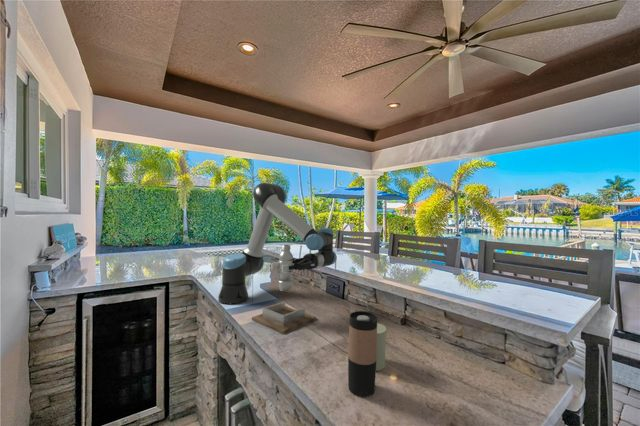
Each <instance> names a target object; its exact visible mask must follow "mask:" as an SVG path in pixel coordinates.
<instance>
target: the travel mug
mask: <svg viewBox="0 0 640 426" xmlns="http://www.w3.org/2000/svg"><path fill="white" fill-rule="evenodd" d="M377 323H378V316H377V315H376V314H375V313H373V312H369V311H366V310H365V311H364V310H360V311H359V310H358V311H357V310H356V311H353V312H351V313H350V314H349V328H348V353H347V354H348V355H347V356H348V357H347V361H348V362H347V366H348V369H347V371H348V373H347V374H348V375H347V376H348V385H347V386H348V390H349V392H350V393H351V394H352V393H353V394H352V395H354V396H356V395H357V397H359V396H361V397H360V398H367V396H368V397H371V396H372V395H374V392H375V387H376V375H377V373H376V372H377V371H376V359H377ZM370 395H371V396H370Z"/></svg>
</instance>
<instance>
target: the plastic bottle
mask: <svg viewBox="0 0 640 426" xmlns="http://www.w3.org/2000/svg"><path fill="white" fill-rule="evenodd" d="M281 250H282V251H281V252H280V254H279V255H278V262H279V268H278V269H279V275H278V282H277V289H278V290H279V291H280V292H290V291H292V290H293V285H294V284H293V275H292V273H293V270H291V271H286V272H282V265H287V264H292V263H293V258H294V255H293V254H292V252H291V244H282V245H281Z"/></svg>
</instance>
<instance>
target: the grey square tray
mask: <svg viewBox="0 0 640 426" xmlns="http://www.w3.org/2000/svg"><path fill="white" fill-rule="evenodd" d="M285 306H286V301H285V300H284V301H282V302H278V303H275V304H272V305H269V306H265V307H263V308H262V314H263V318H266V319H268V320H270V321H273V322H275V323H277V324H280V325H282V326H285V325H287V324H290V323H292V322H295V321H297V320H300V319H302V318H305V313H306V308H305V307H303V308H299V309H296V310H297V311H294V312H291V313H289V314H286V315H282V314H279V312H282V311H284V310H285Z"/></svg>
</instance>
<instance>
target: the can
mask: <svg viewBox="0 0 640 426" xmlns="http://www.w3.org/2000/svg"><path fill="white" fill-rule="evenodd" d="M386 340H387V327H386V326H385V325H384V324H382V323H378V322H377V359H376V372H378V371H382V370H384V369H385V367H386Z"/></svg>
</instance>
